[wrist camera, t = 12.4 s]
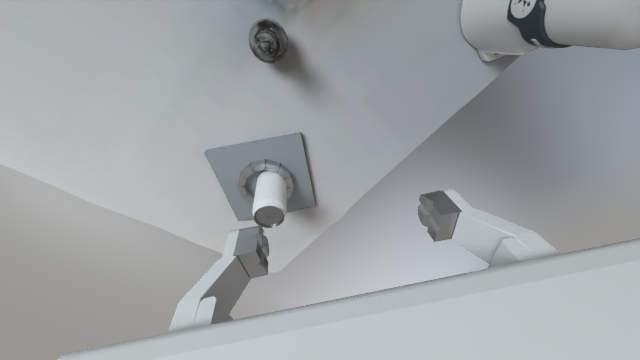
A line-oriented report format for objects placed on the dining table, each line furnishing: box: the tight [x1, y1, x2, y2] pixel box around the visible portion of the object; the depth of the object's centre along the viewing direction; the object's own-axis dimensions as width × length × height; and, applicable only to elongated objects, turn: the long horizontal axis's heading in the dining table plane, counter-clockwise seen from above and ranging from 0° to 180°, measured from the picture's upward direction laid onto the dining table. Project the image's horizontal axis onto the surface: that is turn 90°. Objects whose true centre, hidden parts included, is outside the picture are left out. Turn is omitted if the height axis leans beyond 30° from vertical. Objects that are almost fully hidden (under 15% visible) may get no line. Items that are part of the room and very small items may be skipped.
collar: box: [237, 159, 294, 205], centre depth 52 cm, size 12×12×2 cm
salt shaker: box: [249, 19, 288, 63], centre depth 33 cm, size 6×6×12 cm
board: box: [204, 132, 315, 221], centre depth 53 cm, size 20×20×1 cm
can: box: [252, 170, 286, 228], centre depth 48 cm, size 6×6×12 cm
